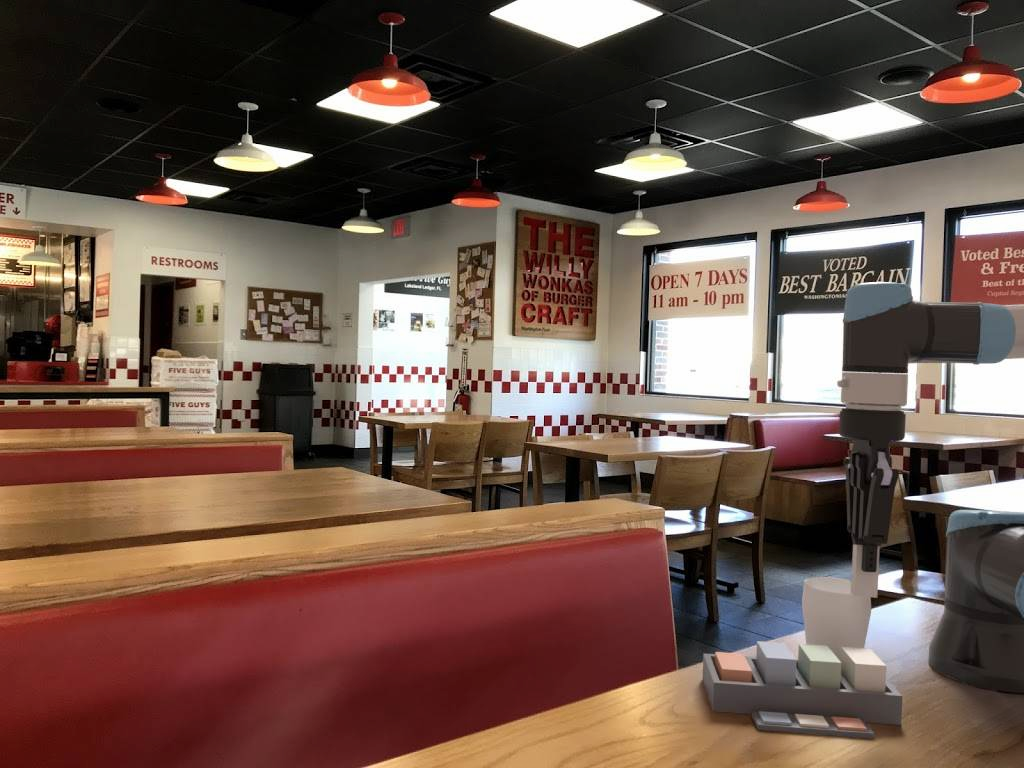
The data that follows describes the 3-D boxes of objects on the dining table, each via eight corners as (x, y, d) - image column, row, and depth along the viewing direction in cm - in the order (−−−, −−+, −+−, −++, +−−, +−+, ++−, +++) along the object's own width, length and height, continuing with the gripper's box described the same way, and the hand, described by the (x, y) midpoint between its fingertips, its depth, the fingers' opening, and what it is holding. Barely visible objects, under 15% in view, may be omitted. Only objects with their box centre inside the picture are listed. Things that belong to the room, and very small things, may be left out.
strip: (863, 724, 95) (864, 717, 95) (874, 738, 91) (874, 730, 91) (751, 716, 96) (752, 708, 96) (757, 729, 93) (757, 722, 93)
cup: (875, 685, 107) (879, 596, 107) (804, 678, 109) (808, 591, 109) (860, 661, 116) (863, 579, 116) (795, 655, 118) (798, 574, 117)
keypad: (872, 691, 105) (873, 664, 105) (901, 725, 95) (902, 696, 95) (702, 679, 107) (703, 653, 107) (712, 711, 98) (714, 682, 97)
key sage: (826, 672, 104) (827, 645, 104) (840, 691, 98) (841, 662, 98) (797, 670, 104) (798, 643, 104) (809, 688, 98) (810, 660, 98)
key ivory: (868, 675, 103) (869, 648, 103) (885, 694, 97) (886, 665, 97) (839, 673, 104) (840, 646, 103) (854, 692, 98) (855, 663, 97)
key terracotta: (742, 680, 105) (743, 653, 105) (750, 698, 99) (751, 671, 99) (714, 678, 105) (715, 651, 105) (721, 696, 99) (722, 669, 99)
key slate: (784, 669, 104) (785, 643, 104) (795, 687, 98) (796, 659, 98) (756, 667, 105) (757, 641, 105) (765, 685, 99) (766, 657, 99)
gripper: (826, 404, 106) (818, 579, 107) (858, 409, 93) (849, 608, 94) (885, 406, 106) (877, 583, 106) (925, 411, 93) (915, 613, 93)
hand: (863, 595), depth 100 cm, fingers closed
